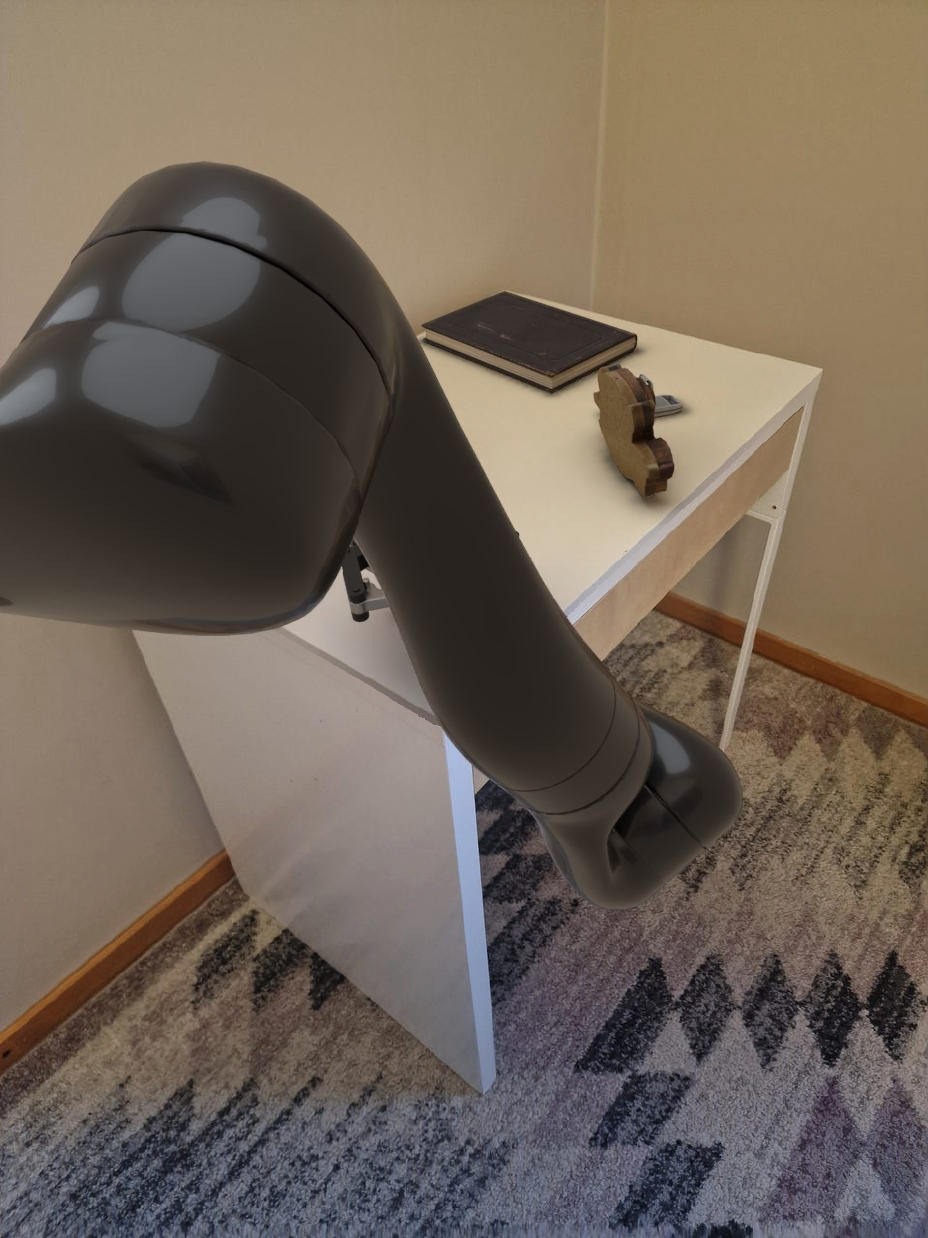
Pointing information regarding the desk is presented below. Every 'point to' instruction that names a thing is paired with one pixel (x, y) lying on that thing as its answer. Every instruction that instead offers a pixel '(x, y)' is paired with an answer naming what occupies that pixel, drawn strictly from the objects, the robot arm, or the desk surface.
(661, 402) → the strap clip
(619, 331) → the hardcover book
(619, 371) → the wooden carving
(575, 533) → the desk surface
